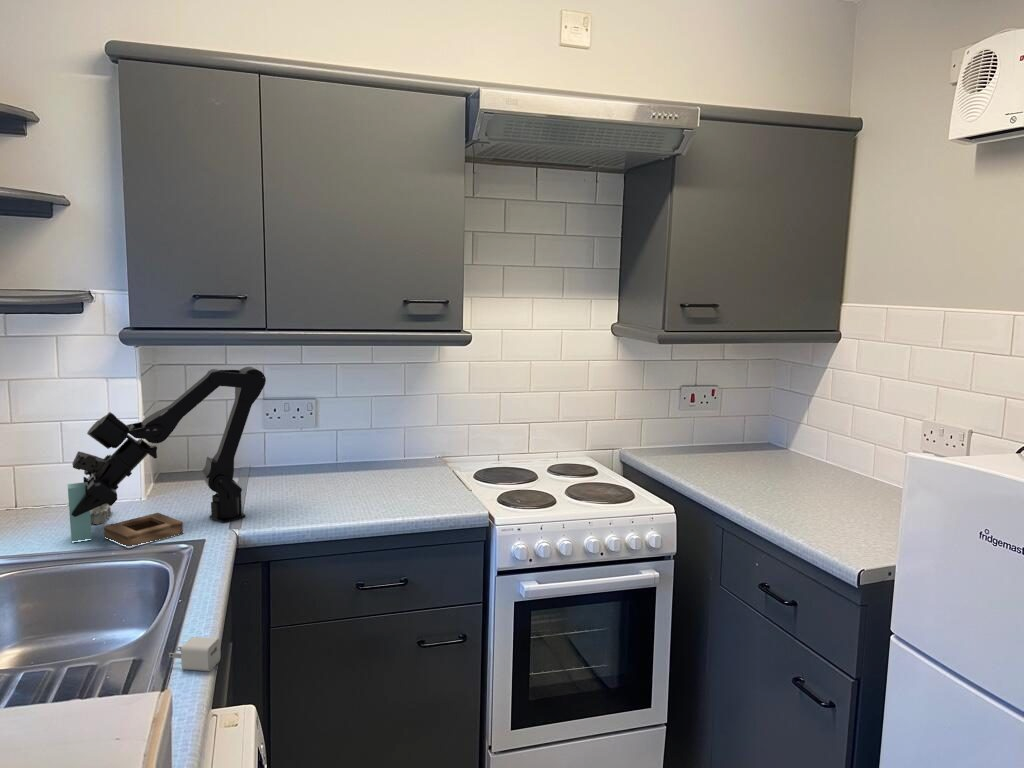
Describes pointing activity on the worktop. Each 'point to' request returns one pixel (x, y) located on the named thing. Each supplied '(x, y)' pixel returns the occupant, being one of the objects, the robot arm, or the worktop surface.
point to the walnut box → (143, 529)
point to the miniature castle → (100, 514)
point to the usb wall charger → (199, 653)
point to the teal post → (82, 522)
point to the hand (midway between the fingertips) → (72, 513)
